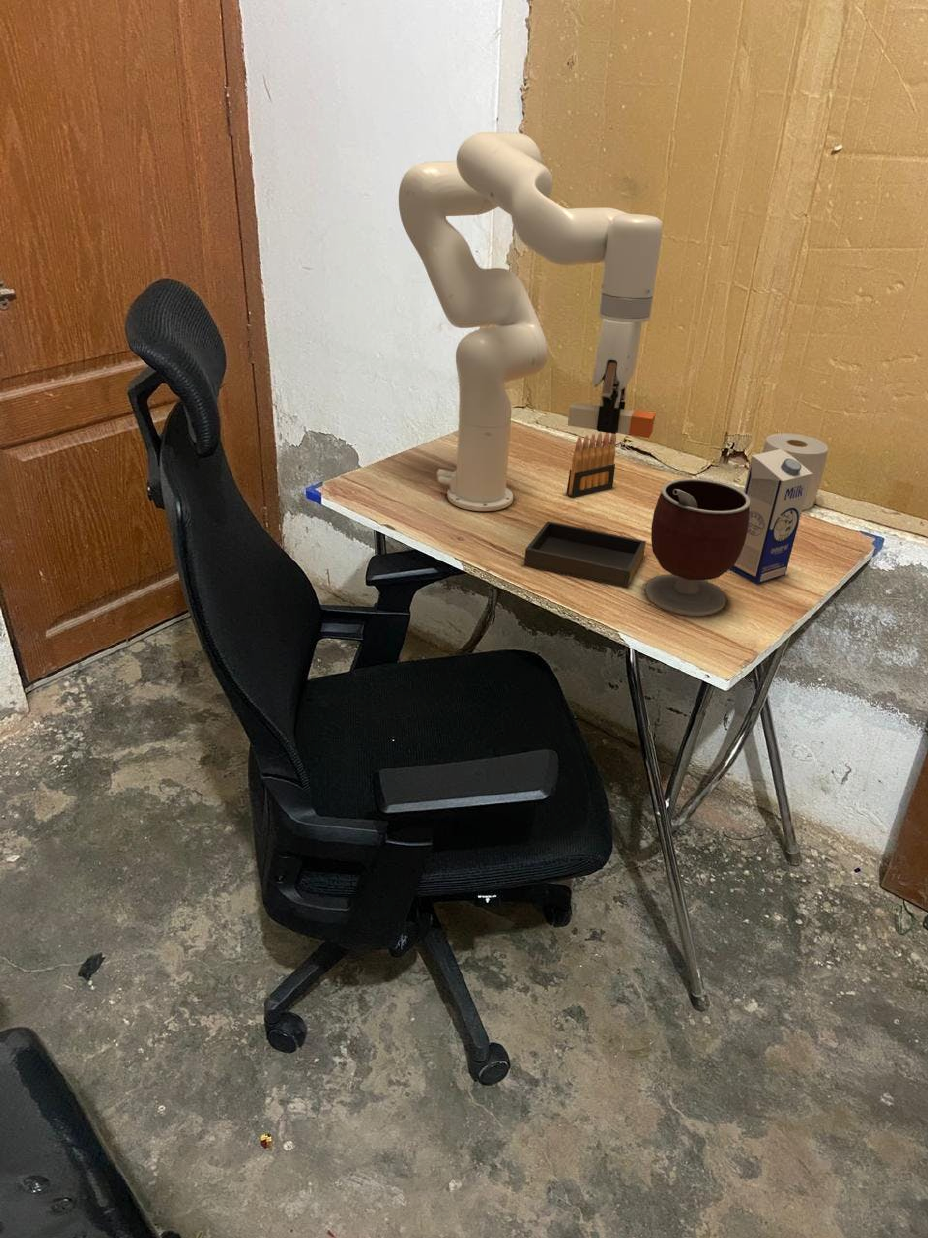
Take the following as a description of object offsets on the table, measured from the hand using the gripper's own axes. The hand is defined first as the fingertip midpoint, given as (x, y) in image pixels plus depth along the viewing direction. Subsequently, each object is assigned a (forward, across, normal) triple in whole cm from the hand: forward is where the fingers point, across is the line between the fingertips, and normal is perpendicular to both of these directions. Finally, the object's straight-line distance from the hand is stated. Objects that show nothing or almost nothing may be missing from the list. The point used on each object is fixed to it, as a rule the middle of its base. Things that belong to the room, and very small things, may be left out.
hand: (609, 427), depth 136 cm
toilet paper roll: (+22, -42, +29) cm, 56 cm away
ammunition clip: (+22, -27, -7) cm, 36 cm away
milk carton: (+22, -6, +26) cm, 35 cm away
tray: (+22, +3, -1) cm, 22 cm away
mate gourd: (+22, +9, +16) cm, 29 cm away
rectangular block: (0, 0, 0) cm, 0 cm away
